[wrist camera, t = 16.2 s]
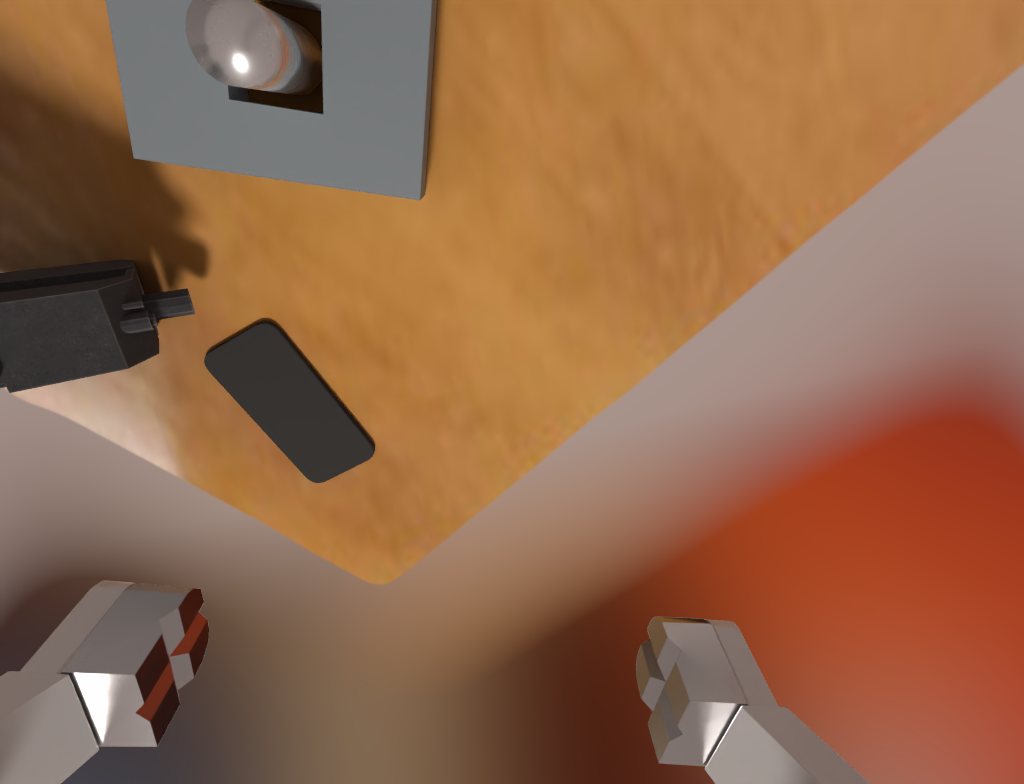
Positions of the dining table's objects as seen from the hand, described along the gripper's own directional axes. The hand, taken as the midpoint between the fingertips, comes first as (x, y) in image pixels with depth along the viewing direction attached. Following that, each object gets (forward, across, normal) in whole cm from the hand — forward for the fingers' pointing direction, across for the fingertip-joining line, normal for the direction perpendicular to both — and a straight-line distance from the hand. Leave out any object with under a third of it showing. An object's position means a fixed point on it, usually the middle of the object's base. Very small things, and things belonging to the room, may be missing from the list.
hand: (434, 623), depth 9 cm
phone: (+34, +14, +16) cm, 40 cm away
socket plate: (+33, +13, -10) cm, 37 cm away
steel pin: (+33, +13, -10) cm, 37 cm away
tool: (+33, +30, +8) cm, 46 cm away
